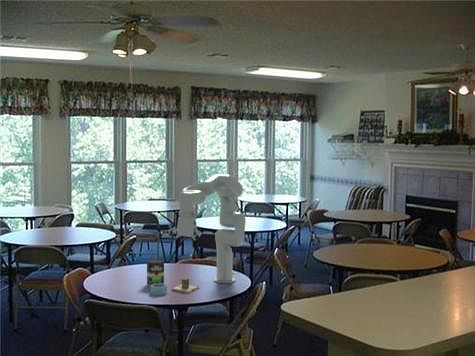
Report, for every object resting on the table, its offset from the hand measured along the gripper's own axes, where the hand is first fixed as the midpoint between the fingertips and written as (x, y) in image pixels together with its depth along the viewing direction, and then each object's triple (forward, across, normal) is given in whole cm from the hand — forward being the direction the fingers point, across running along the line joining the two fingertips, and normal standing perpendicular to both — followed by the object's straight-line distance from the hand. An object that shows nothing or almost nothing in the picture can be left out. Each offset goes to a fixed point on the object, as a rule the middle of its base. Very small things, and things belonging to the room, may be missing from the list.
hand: (186, 246), depth 303 cm
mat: (+28, +9, -14) cm, 33 cm away
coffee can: (+29, +31, -18) cm, 46 cm away
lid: (+28, +9, -14) cm, 33 cm away
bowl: (+28, +19, -2) cm, 34 cm away
